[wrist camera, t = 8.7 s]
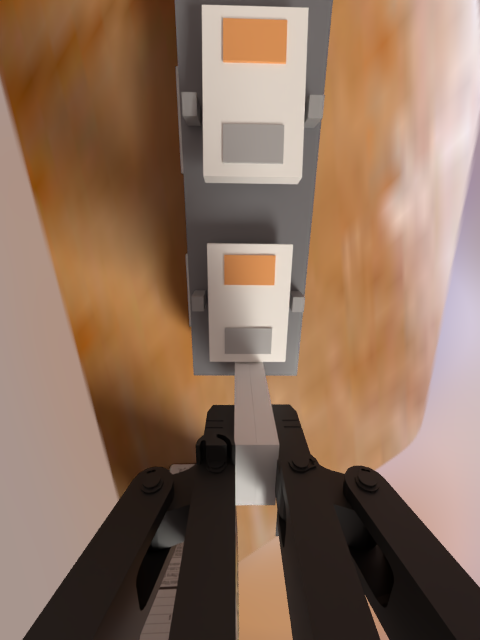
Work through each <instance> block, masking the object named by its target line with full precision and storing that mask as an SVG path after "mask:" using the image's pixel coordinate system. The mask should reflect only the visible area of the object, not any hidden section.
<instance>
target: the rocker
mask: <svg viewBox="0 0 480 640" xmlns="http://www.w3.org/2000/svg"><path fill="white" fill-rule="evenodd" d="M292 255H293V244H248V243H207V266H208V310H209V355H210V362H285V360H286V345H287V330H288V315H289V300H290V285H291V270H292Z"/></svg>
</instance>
